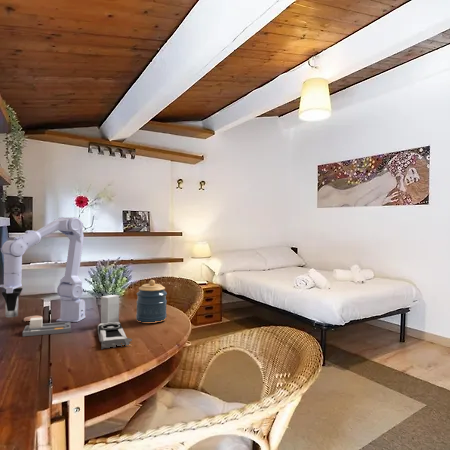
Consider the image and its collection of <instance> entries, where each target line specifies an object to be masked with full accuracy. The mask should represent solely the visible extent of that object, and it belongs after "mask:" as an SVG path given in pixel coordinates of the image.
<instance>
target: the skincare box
mask: <svg viewBox="0 0 450 450" xmlns="http://www.w3.org/2000/svg"><path fill="white" fill-rule="evenodd" d="M119 314H120V295H118V294H113V295H112V294H109V295H103V296H100V324H102V323H104V324H105V323H115V322H119V323H120V321H119V320H120V318H119V317H120V315H119Z"/></svg>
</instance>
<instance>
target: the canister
mask: <svg viewBox="0 0 450 450" xmlns="http://www.w3.org/2000/svg"><path fill="white" fill-rule="evenodd" d="M165 289H166V287H165V286H163V285H162V284H160V283H156V281H155V280H154V279H150V280H149V281H148V283H145V284H142V285H141V286H139V287H138V292H136V296H137V300H136V314H135V319H136V321H137V320H138V321H141V322H155V321H161V320H164V319H165V318H166V319H167V301H168V300H167V299H166V298H167V295H168V293H167V291H166V290H165Z"/></svg>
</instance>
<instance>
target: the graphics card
mask: <svg viewBox="0 0 450 450" xmlns="http://www.w3.org/2000/svg"><path fill="white" fill-rule="evenodd" d="M96 330H97V334H98V340H99V343H100V345H101V346H100V347H101V350H102V351H103V350H104V349H111V348H110V347H113V348H117V347H116V345H117V346H121V347H123V346H122V345H125V346H126V345H129V344H131V343H130V342H132V341H133V338H130V337H127V335H126V332H125V331H124V328H123V326H122V323H120V321H119V322H115V323H105V324H104V323H102V324H101V323H98V325H97V329H96ZM121 343H122V344H121Z"/></svg>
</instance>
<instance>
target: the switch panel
mask: <svg viewBox="0 0 450 450" xmlns="http://www.w3.org/2000/svg"><path fill="white" fill-rule="evenodd" d="M71 323H72V322H65V321H57V322H48V323H43V324H42V327H39V328H30V324H29V325H25V326H24V329H23V330H22V337H33V336H42V335H57V334H65V333H66V334H68V333H71V328H72V327H71Z"/></svg>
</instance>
